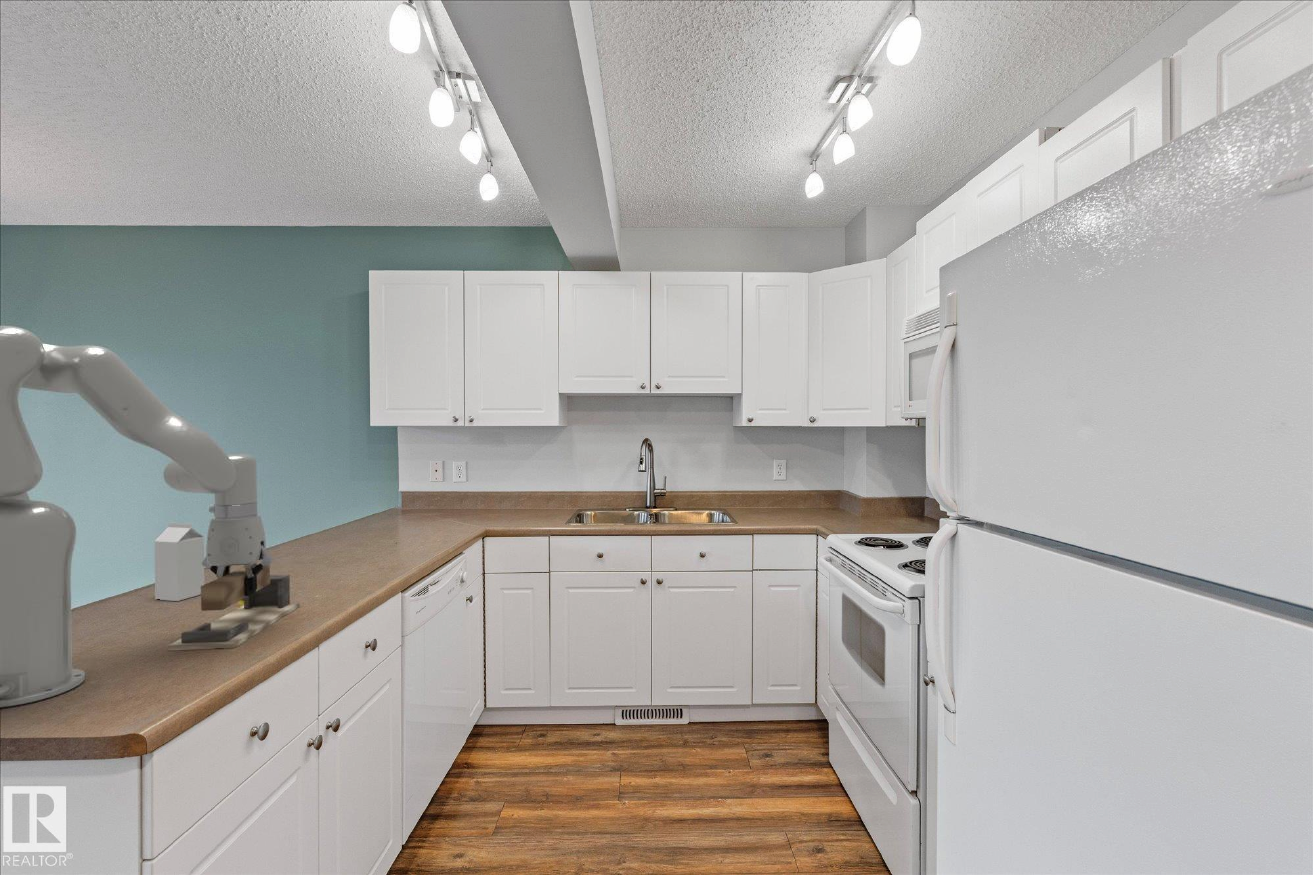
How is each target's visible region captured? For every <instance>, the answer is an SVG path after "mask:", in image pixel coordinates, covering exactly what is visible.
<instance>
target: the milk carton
mask: <svg viewBox="0 0 1313 875" xmlns="http://www.w3.org/2000/svg"><path fill="white" fill-rule="evenodd" d="M204 559H205V536H203V535H202V534H201V533H200V532H198V531H196V529H194V528H193V527H192V524H191V523H181V522H178V523H177V522H168V524H167V528H166V529H164V530H163V532H162V533H161V534H160V535H159V536H158V537H157V538H156V539H155V540H154V600H157V599H160V600H159V601H172V602H179V601H183V600H186V599H190V598H193V597H196V596H201V586H203V585H205V584H206V583H205V566H203V565H202V562H203V560H204Z"/></svg>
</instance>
